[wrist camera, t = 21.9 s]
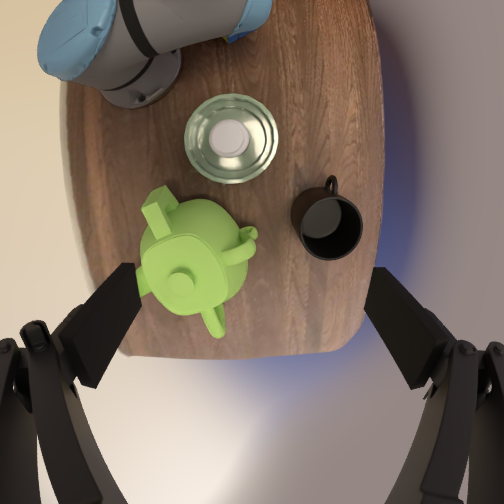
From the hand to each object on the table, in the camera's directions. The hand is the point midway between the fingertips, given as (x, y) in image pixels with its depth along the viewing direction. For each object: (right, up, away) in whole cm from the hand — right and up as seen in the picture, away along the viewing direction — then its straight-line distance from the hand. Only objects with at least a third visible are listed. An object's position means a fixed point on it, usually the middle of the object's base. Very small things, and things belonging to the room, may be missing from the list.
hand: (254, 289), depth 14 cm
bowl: (-3, +20, +26) cm, 33 cm away
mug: (+11, +10, +31) cm, 34 cm away
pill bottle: (-3, +19, +26) cm, 32 cm away
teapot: (-11, +2, +33) cm, 35 cm away
